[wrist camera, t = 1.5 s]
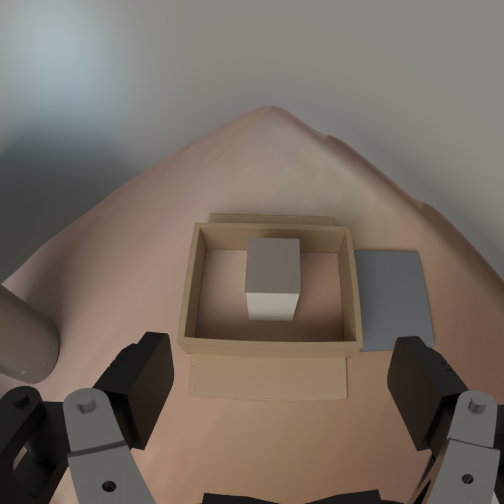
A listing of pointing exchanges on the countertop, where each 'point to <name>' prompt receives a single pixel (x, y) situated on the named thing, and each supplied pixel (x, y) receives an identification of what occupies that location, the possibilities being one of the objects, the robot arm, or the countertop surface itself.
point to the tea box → (272, 278)
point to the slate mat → (392, 299)
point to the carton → (261, 352)
